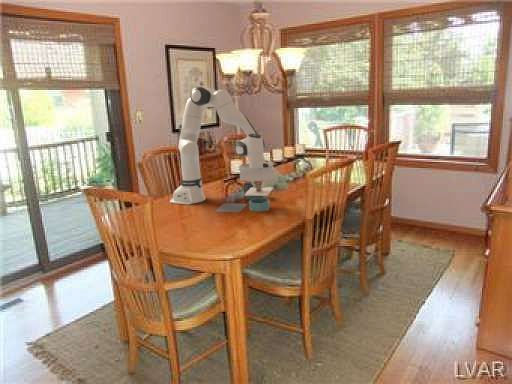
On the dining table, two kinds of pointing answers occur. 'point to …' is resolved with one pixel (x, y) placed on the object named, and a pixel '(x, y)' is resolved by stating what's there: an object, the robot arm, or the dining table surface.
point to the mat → (231, 207)
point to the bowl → (259, 204)
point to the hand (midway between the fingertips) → (258, 187)
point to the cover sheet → (258, 191)
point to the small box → (247, 186)
